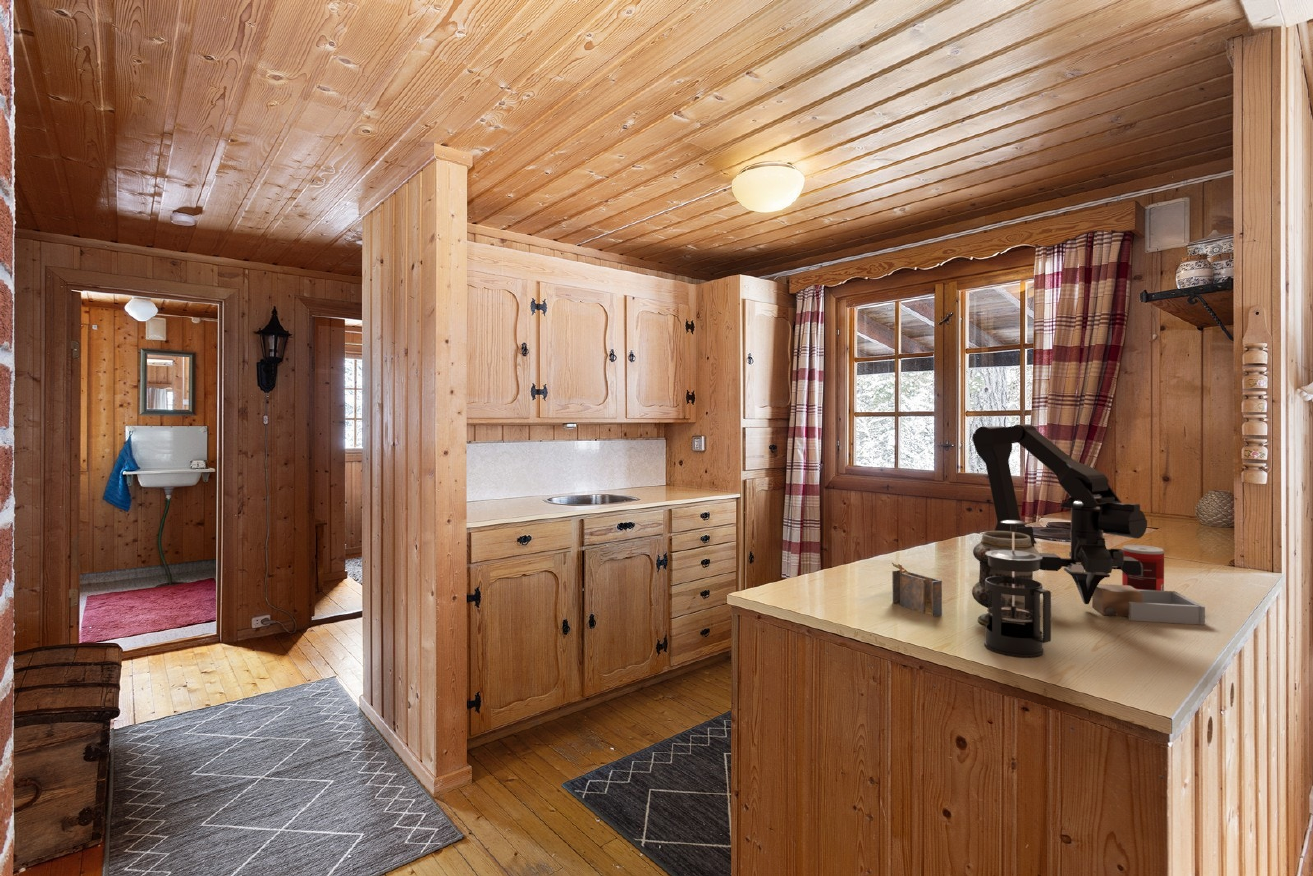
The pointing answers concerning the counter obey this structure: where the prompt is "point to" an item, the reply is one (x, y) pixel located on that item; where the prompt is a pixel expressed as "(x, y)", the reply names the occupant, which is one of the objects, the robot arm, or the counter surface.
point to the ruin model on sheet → (917, 591)
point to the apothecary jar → (998, 542)
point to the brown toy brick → (1114, 599)
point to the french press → (1013, 635)
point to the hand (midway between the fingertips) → (1086, 603)
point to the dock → (1166, 608)
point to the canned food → (1145, 567)
